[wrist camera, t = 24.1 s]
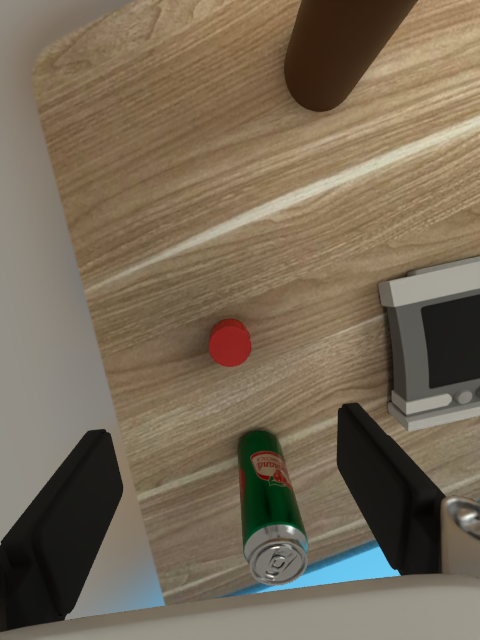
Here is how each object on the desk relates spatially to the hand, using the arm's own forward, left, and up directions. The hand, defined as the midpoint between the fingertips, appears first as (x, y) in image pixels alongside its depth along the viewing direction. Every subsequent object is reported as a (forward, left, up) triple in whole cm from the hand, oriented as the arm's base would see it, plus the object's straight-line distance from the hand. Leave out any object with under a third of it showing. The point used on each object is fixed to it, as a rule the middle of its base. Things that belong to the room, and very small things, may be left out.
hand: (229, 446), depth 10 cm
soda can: (+9, -11, -17) cm, 22 cm away
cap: (0, 0, -17) cm, 17 cm away
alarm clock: (+23, +11, -17) cm, 31 cm away
